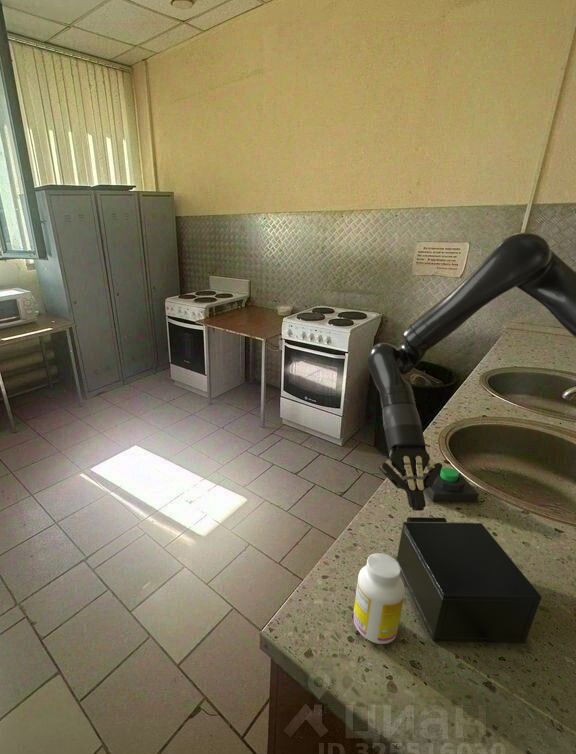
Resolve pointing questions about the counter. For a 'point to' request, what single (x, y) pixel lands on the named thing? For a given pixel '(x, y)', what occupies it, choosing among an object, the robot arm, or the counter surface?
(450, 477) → the button
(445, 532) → the black box
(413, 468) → the robot arm
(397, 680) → the counter surface
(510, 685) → the counter surface
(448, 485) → the control block
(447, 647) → the counter surface
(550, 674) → the counter surface
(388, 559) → the supplement bottle
